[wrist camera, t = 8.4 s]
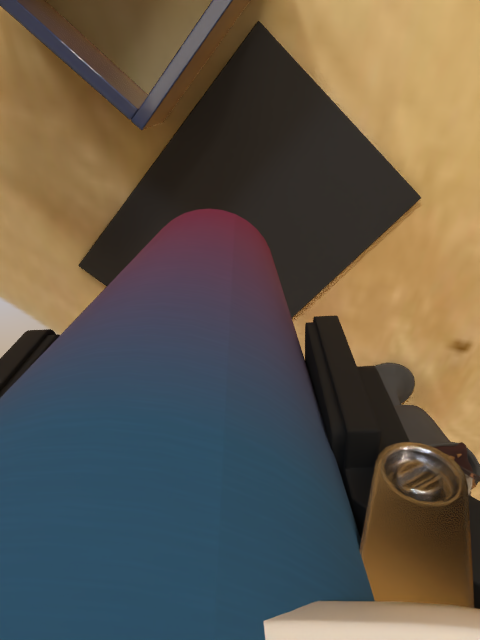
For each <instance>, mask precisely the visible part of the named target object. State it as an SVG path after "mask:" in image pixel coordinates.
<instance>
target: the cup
mask: <svg viewBox="0 0 480 640" xmlns="http://www.w3.org/2000/svg"><path fill="white" fill-rule="evenodd" d="M360 544H361V538H360V535H359V532H358V529H357V525H356V522H355V519H354V516H353V513H352V509H351V506H350V503H349V500H348V497H347V494H346V490H345V487H344V484H343V481H342V478H341V474H340V471H339V468H338V465H337V462H336V458H335V455H334V453H333V451H332V449H331V445H330V442H329V438H328V434H327V431H326V427H325V423H324V420H323V417H322V414H321V411H320V407H319V404H318V401H317V398H316V395H315V391H314V388H313V385H312V382H311V379H310V375H309V372H308V369H307V366H306V363H305V360H304V356H303V353H302V350H301V347H300V344H299V340H298V337H297V334H296V331H295V328H294V324H293V321H292V318H291V315H290V312H289V309H288V305H287V302H286V299H285V296H284V293H283V289H282V286H281V283H280V280H279V277H278V273H277V270H276V267H275V264H274V261H273V257H272V254H271V251H270V248H269V247H268V245H267V243H266V241H265V239H264V237H263V236H262V235H261V234H260V232H259V231H258V230H257V229H256V228H255V227H254V226H253V225H252V224H250V223H249V222H248V221H247V220H245V219H243V218H242V217H240V216H238V215H236V214H233V213H230V212H227V211H224V210H218V209H198V210H194V211H190V212H187V213H184V214H182V215H180V216H178V217H176V218H174V219H173V220H172V221H170V222H169V223H168V224H167V225H166V226H164V227H163V228H162V229H161V230H160V232H159V233H158V234H157V235H156V236H155V237H154V238H153V239H152V240H151V241H150V242H149V243H148V244H147V245H146V246H145V247H144V248H143V249H142V250H141V251H140V252H139V253H138V255H137V256H136V257H135V258H134V259H133V260H132V261H131V262H130V263H129V264H128V265H127V266H126V267H125V268H124V269H123V270H122V271H121V272H120V273H119V274H118V275H117V276H116V278H115V279H114V280H113V281H112V282H111V283H110V284H109V285H108V286H107V287H106V288H105V289H104V290H103V291H102V292H101V293H100V294H99V295H98V296H97V297H96V298H95V300H94V301H93V302H92V303H91V304H90V305H89V306H88V307H87V308H86V309H85V310H84V311H83V312H82V313H81V314H80V315H79V316H78V317H77V318H76V319H75V320H74V321H73V323H72V324H71V325H70V326H69V327H68V328H67V329H66V330H65V331H64V332H63V333H62V334H61V335H60V336H59V337H58V338H57V339H56V340H55V341H54V342H53V343H52V344H51V346H50V347H49V348H48V349H47V350H46V351H45V352H44V353H43V354H42V355H41V356H40V357H39V358H38V359H37V360H36V361H35V362H34V363H33V364H32V365H31V366H30V367H29V369H28V370H27V371H26V372H25V373H24V374H23V375H22V376H21V377H20V378H19V379H18V380H17V381H16V382H15V383H14V384H13V385H12V386H11V387H10V388H9V389H8V391H7V392H6V393H5V394H4V395H3V396H2V397H1V398H0V640H265V631H264V621H265V620H268V619H270V618H273V617H276V616H279V615H281V614H284V613H287V612H290V611H293V610H295V609H297V608H300V607H302V606H305V605H307V604H310V603H313V602H316V601H375V599H374V596H373V593H372V590H371V586H370V583H369V580H368V577H367V573H366V570H365V567H364V563H363V560H362V557H361V554H360V550H359V549H360Z"/></svg>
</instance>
